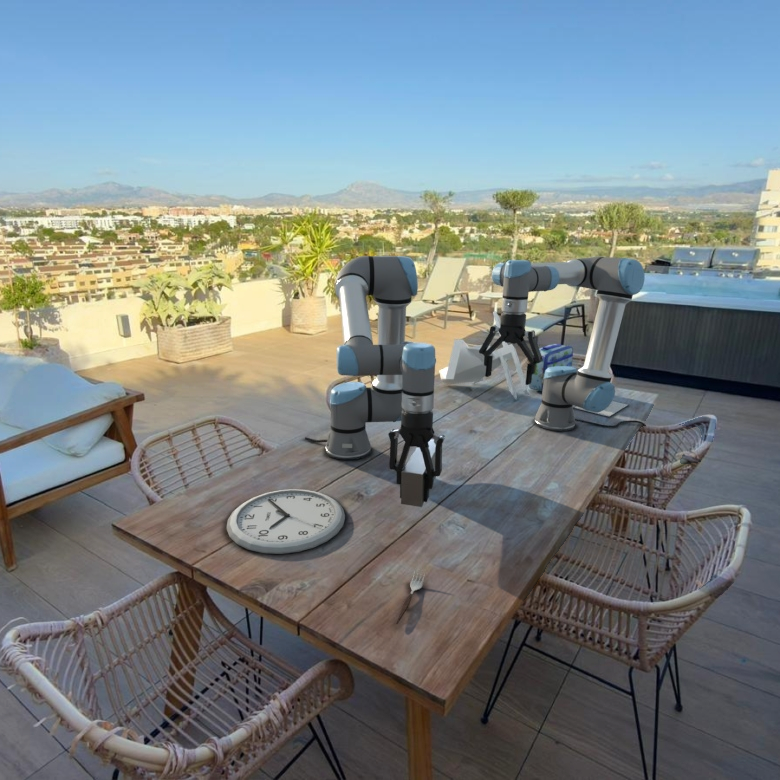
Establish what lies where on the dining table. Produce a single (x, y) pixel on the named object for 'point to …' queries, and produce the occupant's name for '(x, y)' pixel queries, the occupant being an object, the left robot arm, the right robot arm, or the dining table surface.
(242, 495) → the dining table surface
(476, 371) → the white plastic object
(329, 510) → the wall clock
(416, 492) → the bar
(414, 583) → the fork
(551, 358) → the lunch box
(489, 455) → the dining table surface
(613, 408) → the invitation card
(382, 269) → the left robot arm
